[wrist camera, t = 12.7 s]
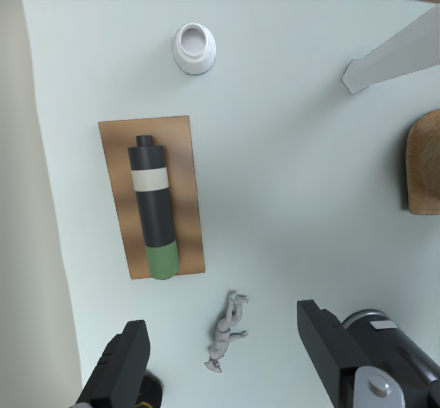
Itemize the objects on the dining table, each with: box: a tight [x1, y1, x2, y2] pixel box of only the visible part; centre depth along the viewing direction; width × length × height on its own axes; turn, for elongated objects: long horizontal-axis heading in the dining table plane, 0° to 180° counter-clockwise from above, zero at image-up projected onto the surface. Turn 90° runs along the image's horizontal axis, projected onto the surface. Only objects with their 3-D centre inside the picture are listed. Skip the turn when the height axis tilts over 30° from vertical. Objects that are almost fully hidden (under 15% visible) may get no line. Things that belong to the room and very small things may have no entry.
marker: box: [127, 135, 180, 280], centre depth 27 cm, size 18×4×4 cm, turn 4°
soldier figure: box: [204, 296, 249, 373], centre depth 33 cm, size 8×5×12 cm
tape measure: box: [134, 376, 162, 408], centre depth 36 cm, size 7×7×4 cm
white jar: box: [172, 23, 216, 75], centre depth 24 cm, size 5×3×5 cm
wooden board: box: [98, 116, 205, 280], centre depth 29 cm, size 22×11×1 cm, turn 4°
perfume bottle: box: [342, 3, 440, 94], centre depth 19 cm, size 5×4×15 cm
